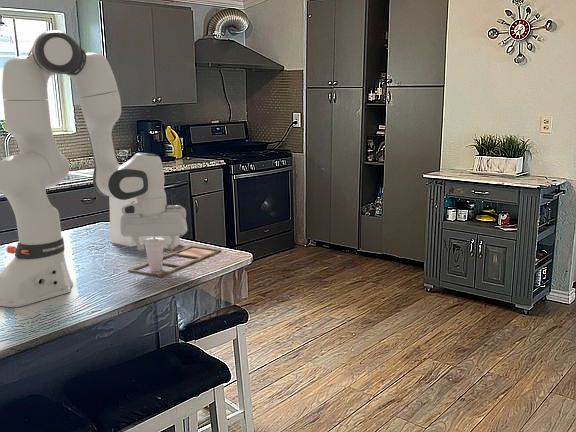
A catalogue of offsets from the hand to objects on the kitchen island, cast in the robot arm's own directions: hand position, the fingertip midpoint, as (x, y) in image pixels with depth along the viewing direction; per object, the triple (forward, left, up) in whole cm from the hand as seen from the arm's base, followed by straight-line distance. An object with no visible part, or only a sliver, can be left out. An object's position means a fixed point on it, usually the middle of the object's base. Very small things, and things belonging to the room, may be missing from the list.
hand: (155, 249), depth 178 cm
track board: (+10, 0, -7) cm, 12 cm away
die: (+23, +15, -7) cm, 28 cm away
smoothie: (0, 0, -7) cm, 7 cm away
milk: (+23, +32, -7) cm, 40 cm away
